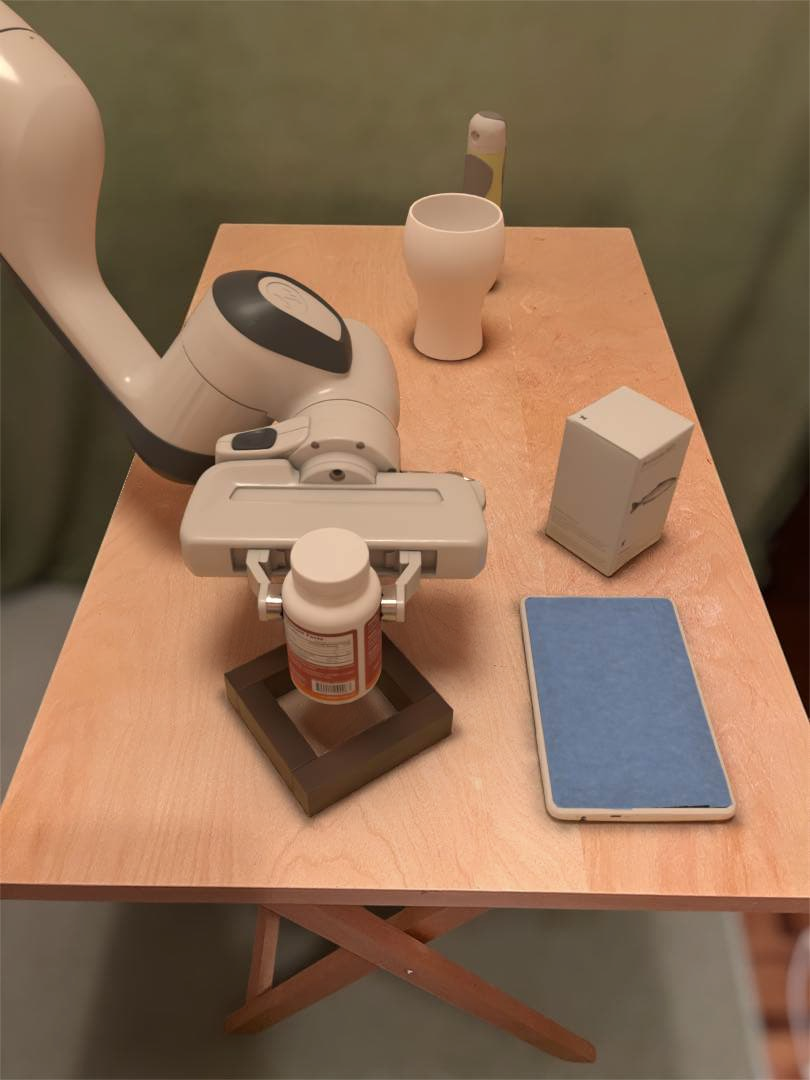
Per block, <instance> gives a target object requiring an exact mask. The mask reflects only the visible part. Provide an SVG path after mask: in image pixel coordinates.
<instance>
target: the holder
mask: <svg viewBox="0 0 810 1080" xmlns="http://www.w3.org/2000/svg"><path fill="white" fill-rule="evenodd" d="M223 679H224V685H225V690H226V695H227V699H228V700H229V702H230V703H231V705H232V706H233V708H234V709H235V711H236V712H237V714H238V715H239V716H240V718H241V719H242V720H243V723H245V725H246V727H247V728H248V729H249V732H251V734H252V735H253V737H254V738H255V740H256V741H257V743H258V745H259V746H260V747H261V749H262V750H263V751H264V753H265V755H266V756H267V757H268V759H269V761H270V762H271V763H272V764H273V766H274V768H275V769H276V770H277V772H278V774H279V776H281V778H282V780H284V783H285V784H286V785H287V786H288V788H289V789H290V791H291V792H292V794H293V795H294V797H295V798H296V800H297V801H298V803H299V804H300V806H301V808H302V809H303V810H304V811H305V814H307V816H308V817H309V818H311V817H312V816H314V815H316V814H318V813H319V812H321V811H323V810H325V809H326V808H328V807H329V806H331V805H333V804H335V803H336V802H337V801H340V800H341V799H343V798H344V797H346V796H348V795H350V794H351V793H353V792H355V791H356V790H358V789H360V788H361V787H363V786H365V785H367V784H369V783H370V782H371V781H373V780H375V779H377V778H379V777H380V776H382V775H383V774H385V773H387V772H389V771H390V770H392V769H393V768H395V767H397V766H398V765H400V764H402V763H404V762H405V761H408V760H409V759H411V758H412V757H414V756H416V755H417V754H419V753H421V752H423V751H425V750H426V749H427V748H429V747H430V746H432V745H434V744H435V743H438V742H440V741H441V740H443V739H445V738H446V737H447V736H449V735H451V734H452V731H453V719H454V708H453V707H452V706H451V705H450V703H448V702H447V700H446V699H445V698H444V697H443V696H442V695H441V694H440V693H439V691H437V690H436V688H435V687H434V686H433V685H432V684H431V683H430V681H429V680H428V679H427V678H426V677H425V676H424V674H422V673H421V671H420V670H419V669H418V668H417V667H416V665H414V664H413V662H412V661H411V659H409V658H408V657H407V656H406V654H404V652H403V651H402V650H401V649H400V647H398V646H397V645H396V643H395V642H394V641H393V640H392V639H391V638H390V637H389V635H388V634H387V633H386V632H385V631H384V630H383V629H382V666H381V672H380V676H379V678H378V680H377V682H376V684H375V685H377V687H378V688H379V689H380V690H381V692H382V693H383V694H384V695H385V696H386V697H387V699H388V700H389V701H390V702H391V703H392V705H393V706H394V707H395V708H396V709H397V711H398V712H396V713H394V714H392V715H391V716H389V717H387V718H386V719H384V720H381V721H380V722H378V723H376V724H375V725H372V726H371V727H369V728H368V729H366V730H364V731H362V732H360V733H359V734H357V735H355V736H353V737H352V738H350V739H348V740H346V741H344V742H343V743H341V744H339V745H337V746H335V747H334V748H332V749H330V750H328V751H327V752H325V753H323V754H321V755H320V756H318V755H317V754H316V752H315V751H314V750H313V748H312V747H311V745H310V744H309V743H308V741H307V740H306V738H305V737H304V736H303V734H302V733H301V732H300V730H299V729H298V727H297V726H296V725H295V723H294V722H293V721H292V719H291V718H290V716H289V715H288V714H287V712H286V710H284V708H283V707H282V706H281V704H280V703H279V702H278V700H277V699H276V698H278V697H281V696H282V695H284V694H287V693H288V692H290V691H292V690H294V689H295V688H296V689H297V687H296V686H295V684H294V683H293V680H292V678H291V674H290V669H289V661H288V651H287V642H285V643H283V644H281V645H279V646H276V647H274V648H272V649H271V650H269V651H267V652H265V653H263V654H261V655H258V656H256V657H254V658H253V659H250V660H248V661H246V662H245V663H242V664H241V665H238V666H236V667H234V668H233V669H230V670H228V671H226V672H224V673H223Z"/></svg>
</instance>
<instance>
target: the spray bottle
mask: <svg viewBox="0 0 810 1080" xmlns="http://www.w3.org/2000/svg"><path fill="white" fill-rule="evenodd" d="M507 136H508V135H507V122H506V120H505V118H504V117H503V116H502V115H501V114H500V113H497V112H495V111H491V110H482V111H481V110H480V111H478V113H476V114H475V115H473V116H472V118H471V119H470V121H469V124H468V136H467V145H466V147H467V148H466V149H467V150H466V154H465V159H464V173H463V183H462V184H463V185H462V194H469V195H475V196H478V197H482V198H485V199H487V200H489V201H491V202H493V203H495V204H496V205H497V206H498V207H499V208H500V209H501V210H502V203H503V193H504V181H505V168H506V154H507V146H506V144H507V143H506V142H507V138H508V137H507ZM496 281H497V279H496V280H495V282H494V284H493V285H492V287H491V288H490V289H492V288H493V287H494V286H495V284H496Z"/></svg>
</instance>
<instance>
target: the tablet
mask: <svg viewBox="0 0 810 1080" xmlns="http://www.w3.org/2000/svg"><path fill="white" fill-rule="evenodd" d="M518 609H519V616H520V623H521V630H522V637H523V644H524V645H523V646H524V651H525V653H524V654H525V659H526V666H527V674H528V682H529V689H530V690H529V691H530V696H531V703H532V712H533V718H534V725H535V726H534V727H535V739H536V744H537V754H538V761H539V762H540V776H541V781H542V786H543V794H544V795H543V796H544V802H545V808H546V810H547V812H548V813H549V815H550V816H552V817H553V818H555V819H557V820H563V821H564V820H565V821H580V820H582V819H584V820H585V821H588V822H590V821H591V822H595V821H596V822H697V821H698V822H700V821H701V822H702V821H726V820H729V819H731V818H732V817H734V815H735V814H736V811H737V801H736V798H735V795H734V791H733V788H732V784H731V782H730V781H731V780H730V779H729V775H728V772H727V769H726V765H725V761H724V759H723V755H722V752H721V748H720V745H719V742H718V739H717V736H716V732H715V729H714V726H713V723H712V720H711V715H710V712H709V709H708V705H707V703H706V699H705V696H704V693H703V689H702V686H701V683H700V680H699V677H698V673H697V669H696V666H695V663H694V660H693V656H692V654H691V653H692V652H691V649H690V647H689V643H688V641H687V636H686V634H685V631H684V627H683V624H682V621H681V618H680V613H679V611H678V607H677V604H676V603H675V601H674V600H673V599H671V598H670V597H667V596H660V595H659V596H657V595H655V596H646V595H642V596H641V595H640V596H639V595H637V596H635V595H527V596H525V597H523V598H522V599H521V600H520V601H519V605H518Z"/></svg>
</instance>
